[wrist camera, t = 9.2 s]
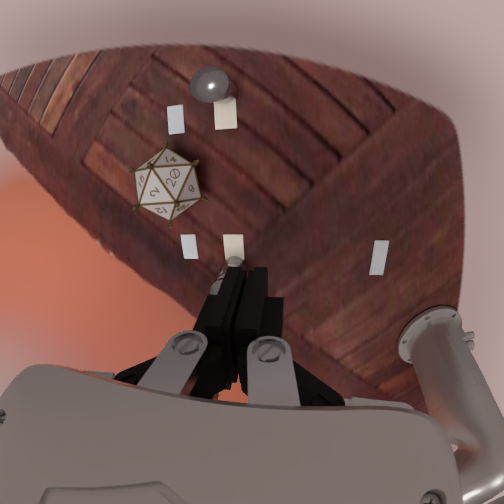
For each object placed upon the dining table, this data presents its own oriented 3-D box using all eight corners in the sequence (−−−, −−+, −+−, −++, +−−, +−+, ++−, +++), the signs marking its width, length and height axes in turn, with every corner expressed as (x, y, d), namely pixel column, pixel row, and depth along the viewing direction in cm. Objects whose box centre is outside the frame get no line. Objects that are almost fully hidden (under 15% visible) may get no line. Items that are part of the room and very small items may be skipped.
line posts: (239, 75, 26) (227, 64, 21) (249, 277, 38) (242, 307, 32) (208, 78, 27) (189, 69, 21) (223, 277, 38) (211, 305, 32)
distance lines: (398, 105, 25) (398, 105, 25) (382, 274, 35) (382, 274, 35) (167, 107, 29) (167, 107, 29) (186, 270, 38) (186, 271, 38)
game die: (182, 158, 35) (152, 115, 26) (231, 189, 33) (209, 146, 24) (140, 211, 35) (96, 180, 25) (184, 248, 33) (145, 224, 23)
